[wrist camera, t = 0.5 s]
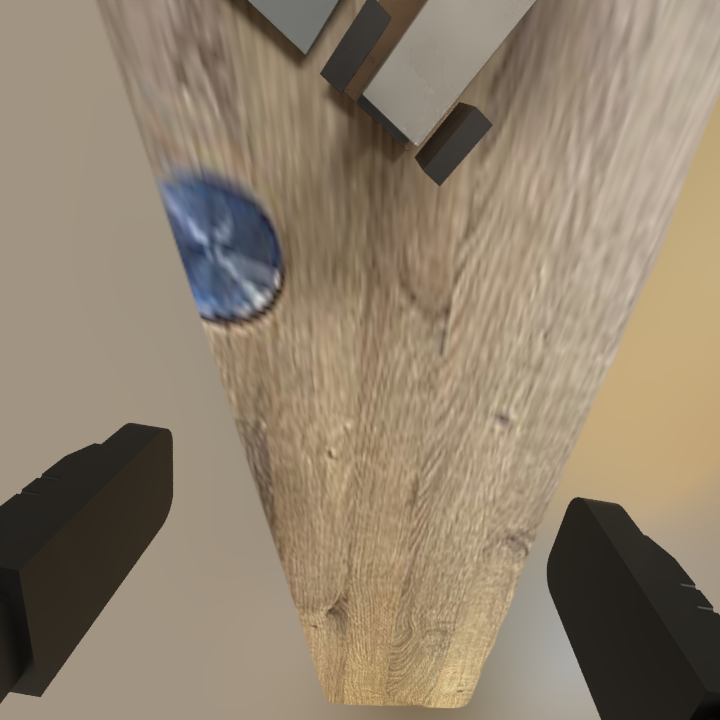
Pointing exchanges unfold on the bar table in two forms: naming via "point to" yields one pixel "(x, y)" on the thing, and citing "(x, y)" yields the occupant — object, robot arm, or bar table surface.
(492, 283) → the bar table surface
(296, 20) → the rubber mat
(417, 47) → the steel rail
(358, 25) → the cradle stand
